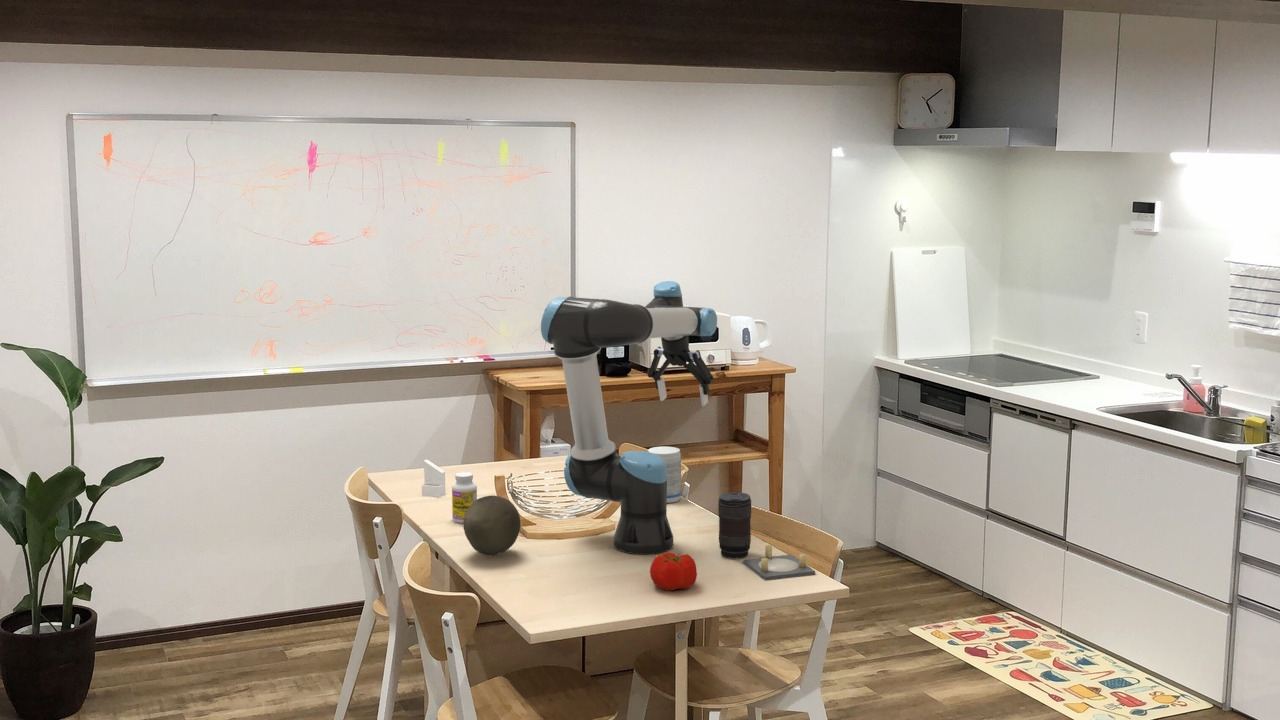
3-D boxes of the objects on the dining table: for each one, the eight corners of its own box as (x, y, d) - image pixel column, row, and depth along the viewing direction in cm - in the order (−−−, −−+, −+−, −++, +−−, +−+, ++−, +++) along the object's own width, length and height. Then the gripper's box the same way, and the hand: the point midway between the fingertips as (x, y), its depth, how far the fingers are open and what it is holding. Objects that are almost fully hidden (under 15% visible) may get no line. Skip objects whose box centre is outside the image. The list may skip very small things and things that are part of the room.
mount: (764, 580, 287) (764, 564, 286) (742, 562, 299) (742, 547, 298) (815, 574, 291) (815, 558, 290) (791, 557, 303) (791, 542, 302)
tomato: (641, 588, 281) (641, 557, 280) (669, 575, 290) (669, 545, 289) (678, 598, 275) (679, 566, 274) (706, 585, 283) (707, 554, 282)
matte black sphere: (458, 550, 308) (456, 492, 306) (513, 544, 313) (512, 487, 311) (470, 567, 295) (469, 507, 293) (527, 561, 300) (527, 501, 298)
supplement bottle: (448, 522, 331) (447, 476, 329) (458, 515, 338) (456, 470, 336) (472, 524, 330) (471, 478, 328) (481, 517, 336) (480, 471, 334)
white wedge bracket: (414, 483, 362) (426, 459, 360) (441, 501, 360) (454, 478, 358) (408, 486, 359) (420, 462, 356) (435, 505, 357) (448, 481, 355)
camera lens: (715, 549, 309) (716, 491, 306) (747, 549, 309) (748, 491, 307) (720, 560, 301) (720, 500, 298) (753, 559, 301) (753, 500, 299)
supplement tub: (687, 500, 353) (687, 450, 350) (661, 506, 347) (661, 455, 345) (667, 493, 360) (667, 444, 358) (640, 498, 355) (640, 448, 352)
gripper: (719, 332, 343) (728, 399, 352) (642, 325, 355) (652, 391, 364) (707, 344, 337) (717, 412, 346) (629, 336, 349) (640, 402, 358)
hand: (684, 401), depth 355 cm, fingers open, 13 cm apart
